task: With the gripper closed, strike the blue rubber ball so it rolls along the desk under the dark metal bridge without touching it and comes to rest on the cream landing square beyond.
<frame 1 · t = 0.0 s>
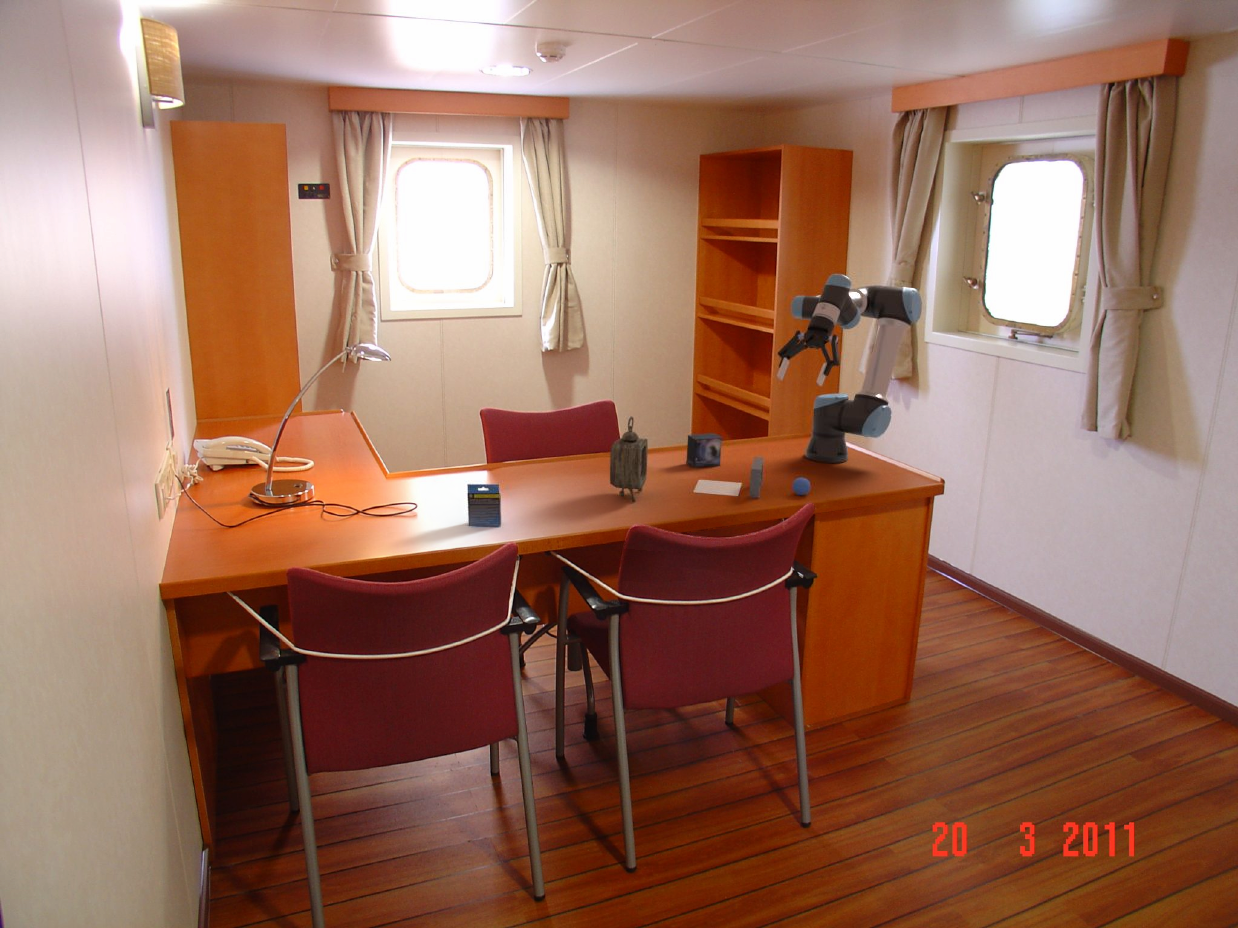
hand: (798, 381, 270), 36 cm above the table, tool tilted 35°, fingers open, 13 cm apart
ball: (801, 486, 279), on the table
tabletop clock: (627, 496, 275), on the table
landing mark: (717, 488, 285), on the table
label tape cartridge: (485, 525, 248), on the table
bridge: (755, 491, 282), on the table
small box: (703, 465, 311), on the table
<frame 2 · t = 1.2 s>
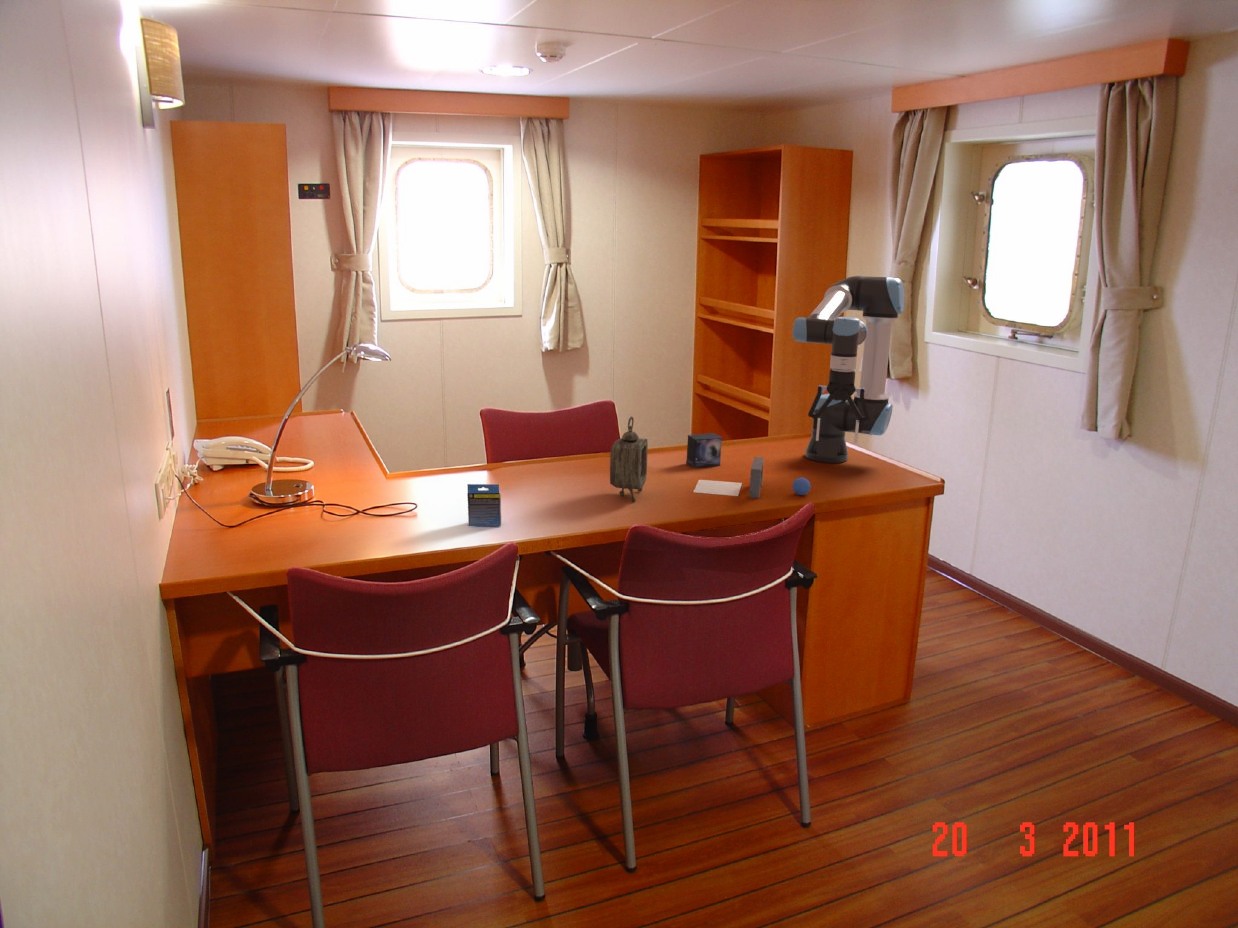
hand: (836, 441, 273), 18 cm above the table, tool pointing down, fingers open, 11 cm apart
nothing on the table moved.
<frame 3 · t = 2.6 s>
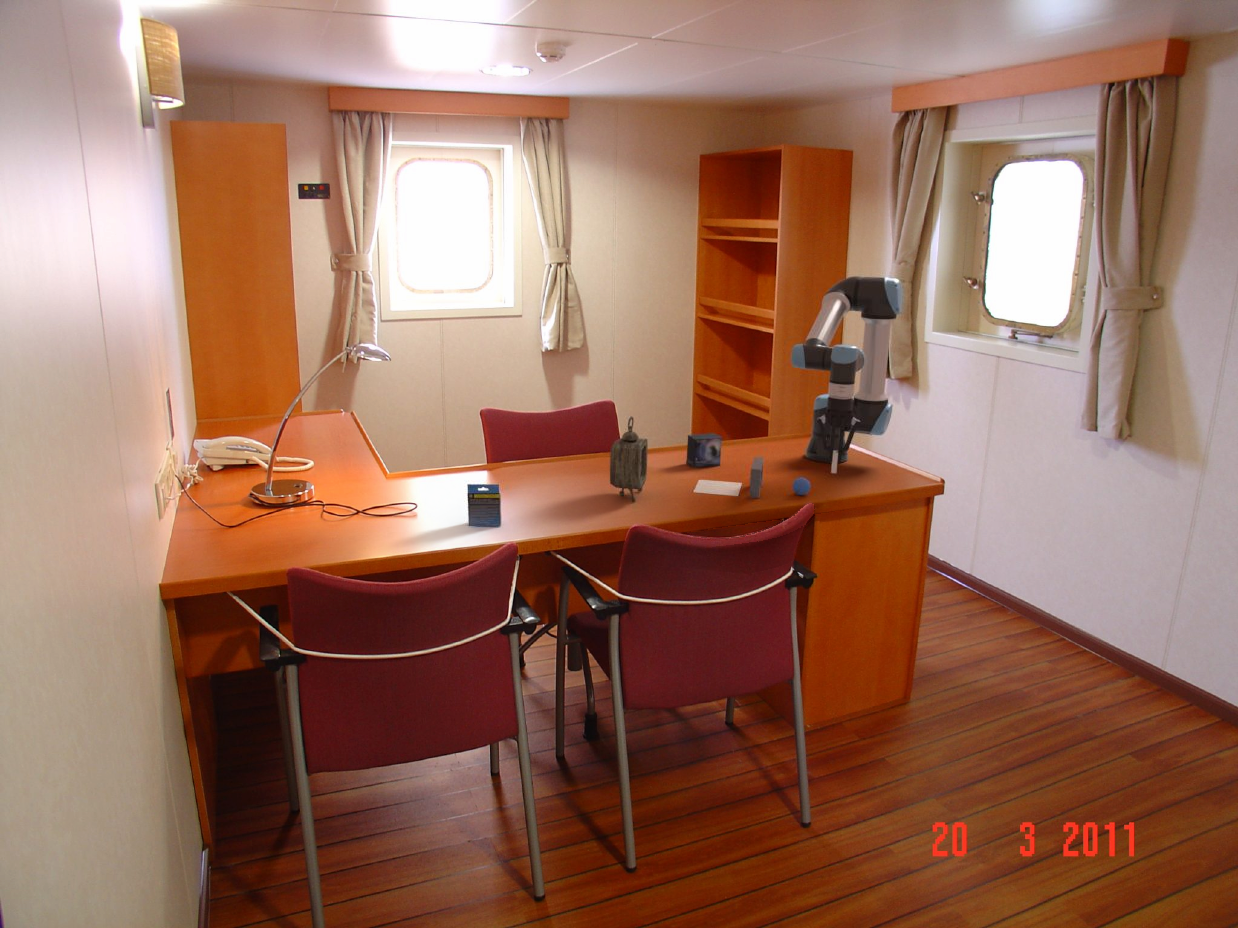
hand: (833, 472, 275), 8 cm above the table, tool pointing down, fingers closed
nothing on the table moved.
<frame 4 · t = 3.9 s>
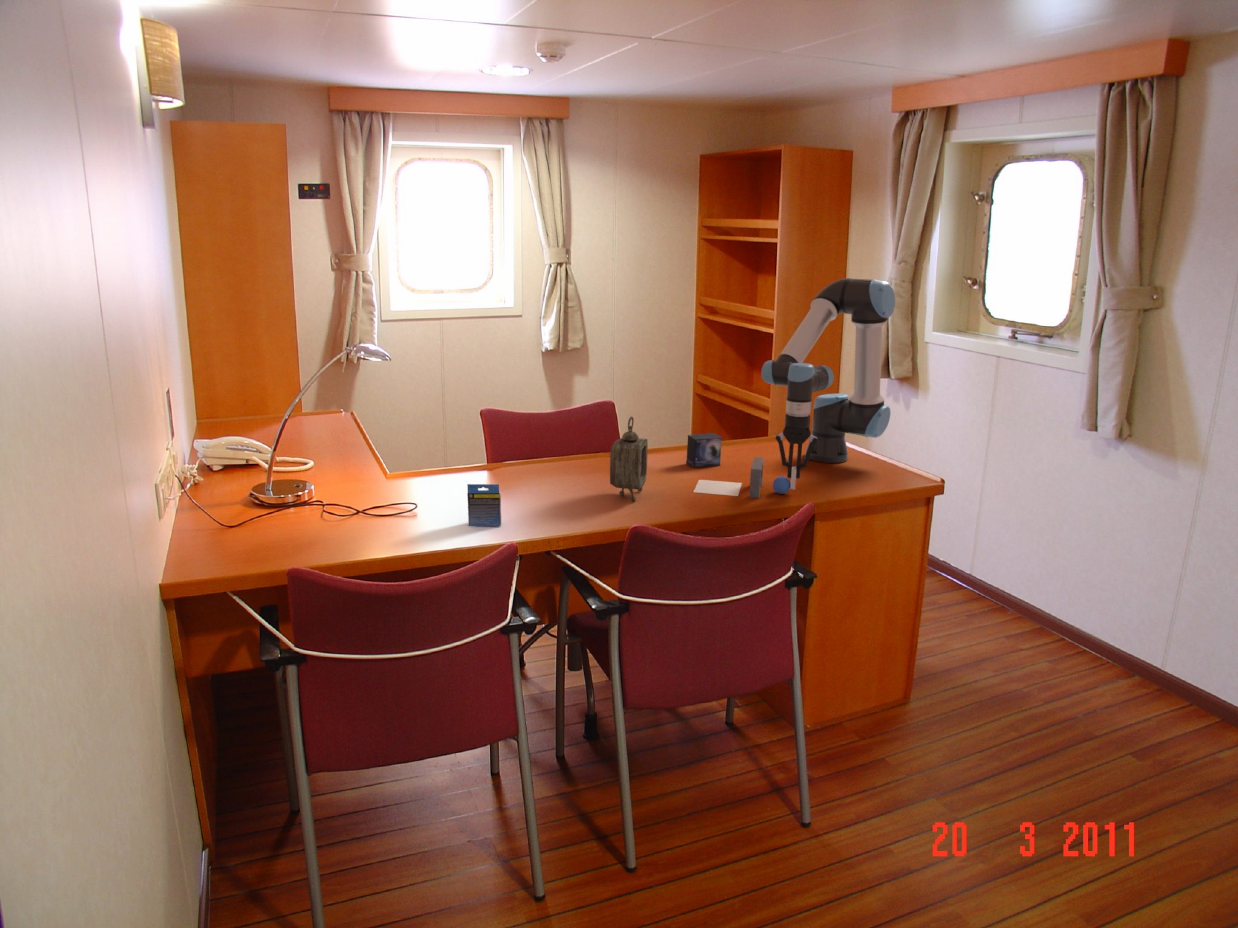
hand: (792, 487, 279), 2 cm above the table, tool pointing down, fingers closed
ball: (781, 485, 280), on the table
everything else where it was.
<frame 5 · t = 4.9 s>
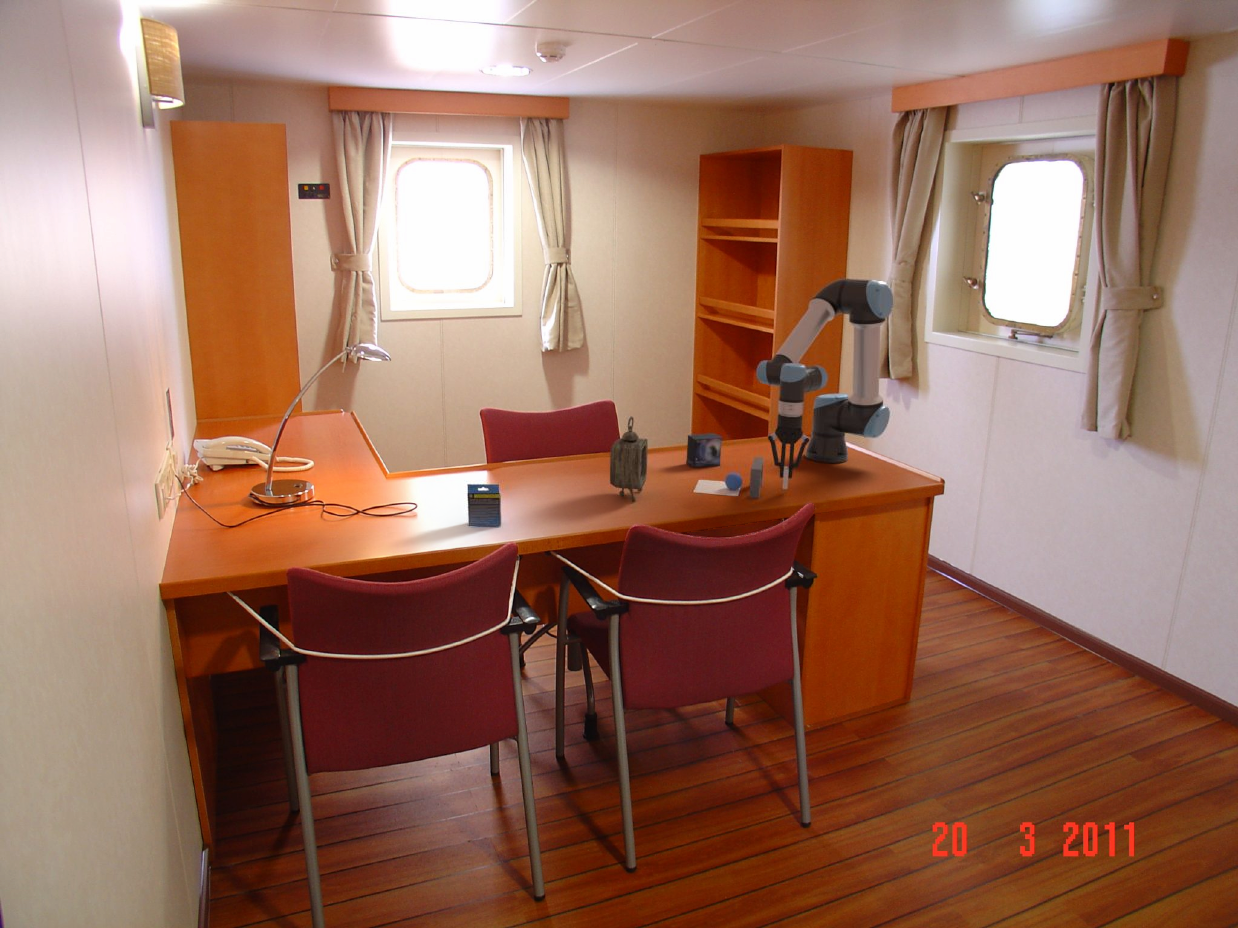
hand: (785, 487, 280), 2 cm above the table, tool pointing down, fingers closed
ball: (733, 481, 283), on the table
everything else where it was.
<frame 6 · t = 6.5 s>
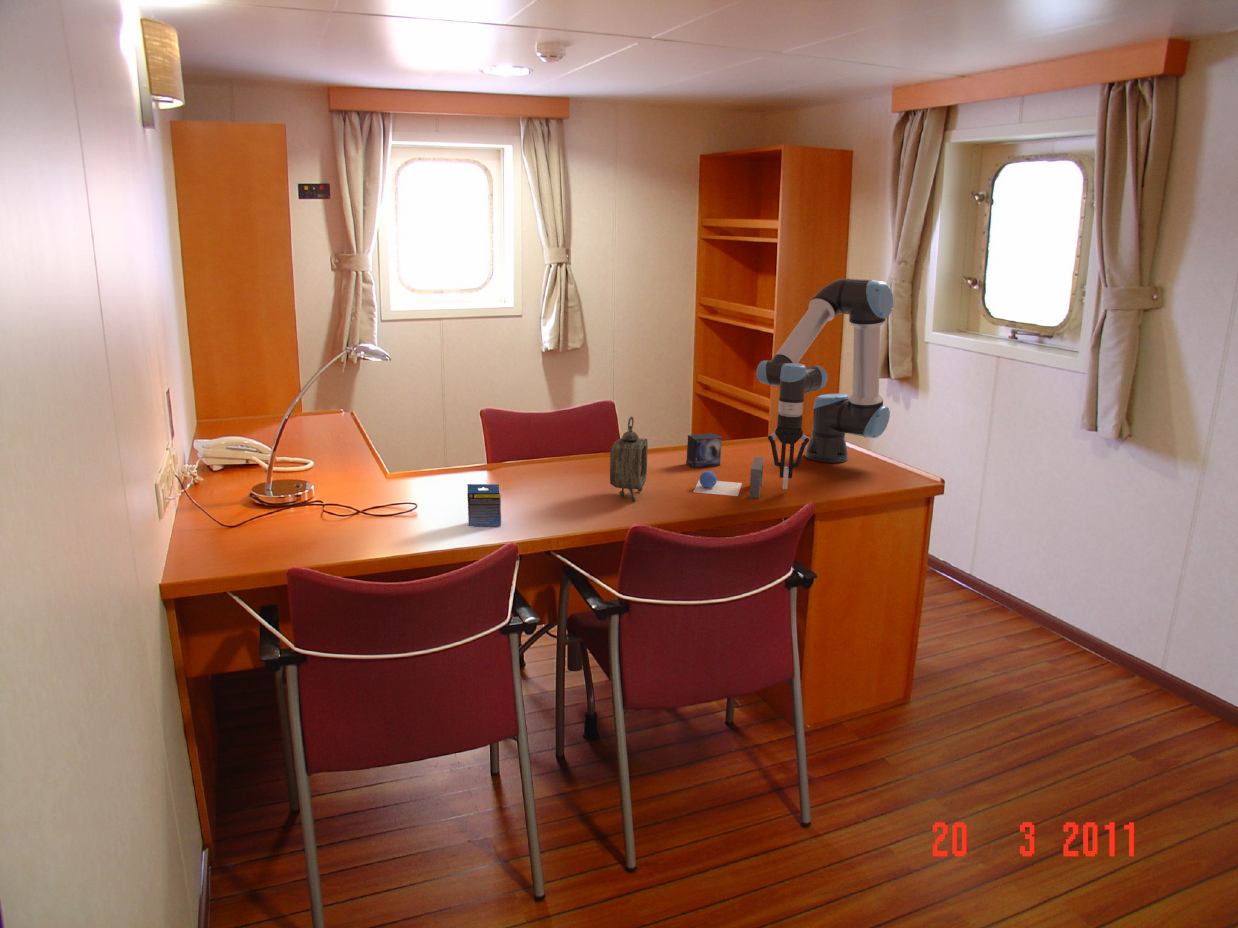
hand: (785, 487, 280), 2 cm above the table, tool pointing down, fingers closed
ball: (708, 479, 284), on the table
everything else where it was.
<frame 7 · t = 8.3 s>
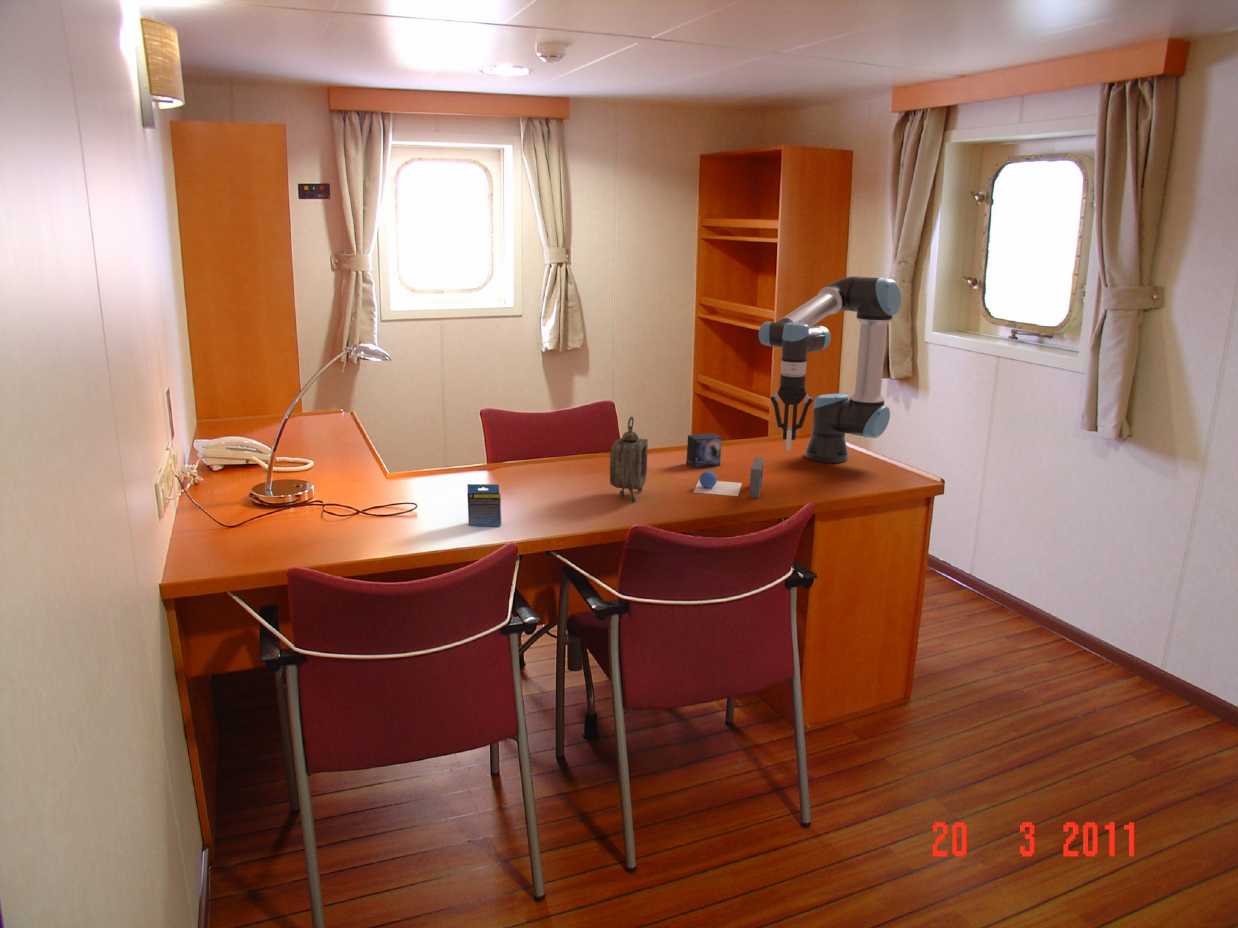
hand: (788, 449, 277), 14 cm above the table, tool pointing down, fingers closed
nothing on the table moved.
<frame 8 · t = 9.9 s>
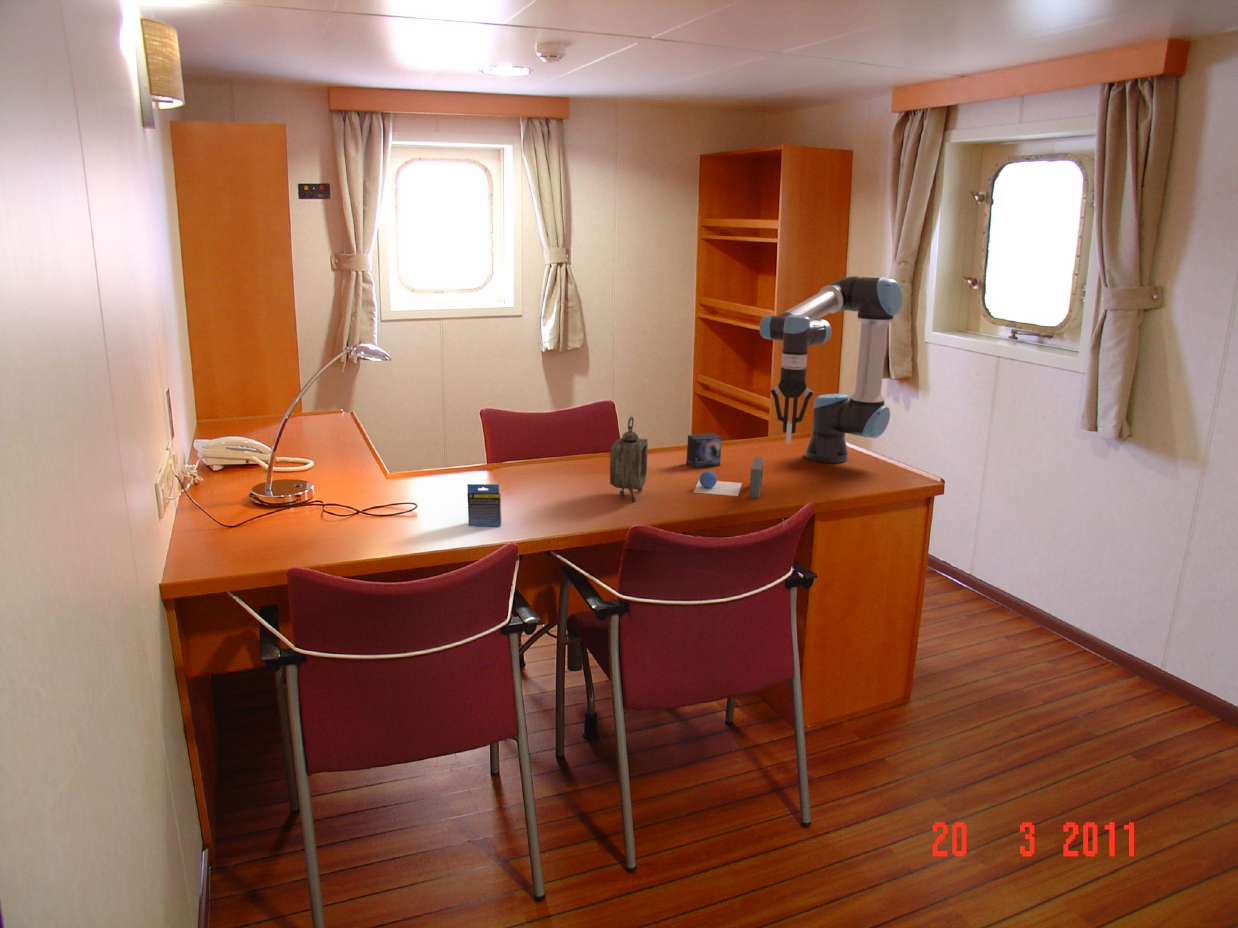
hand: (788, 442, 276), 16 cm above the table, tool pointing down, fingers closed
nothing on the table moved.
at the end: ball 3.2 cm from the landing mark (horizontally); ball never touched bridge; ball at rest at the end (0.0 cm/s) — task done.
